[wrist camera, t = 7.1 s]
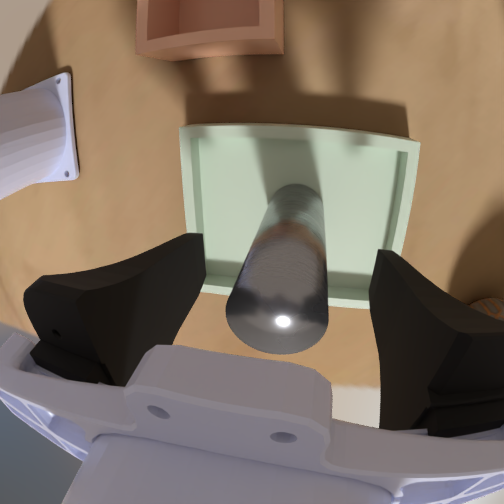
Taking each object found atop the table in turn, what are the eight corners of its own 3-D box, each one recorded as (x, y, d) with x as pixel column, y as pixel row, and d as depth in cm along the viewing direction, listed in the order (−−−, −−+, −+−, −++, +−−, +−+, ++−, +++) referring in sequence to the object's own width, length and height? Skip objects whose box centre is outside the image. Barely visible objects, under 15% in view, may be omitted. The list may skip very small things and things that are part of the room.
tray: (202, 275, 20) (193, 290, 19) (192, 124, 16) (179, 127, 14) (380, 293, 18) (385, 310, 17) (409, 138, 14) (420, 142, 12)
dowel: (271, 234, 17) (232, 350, 10) (267, 184, 16) (218, 274, 8) (323, 235, 17) (324, 356, 9) (323, 183, 15) (331, 276, 7)
